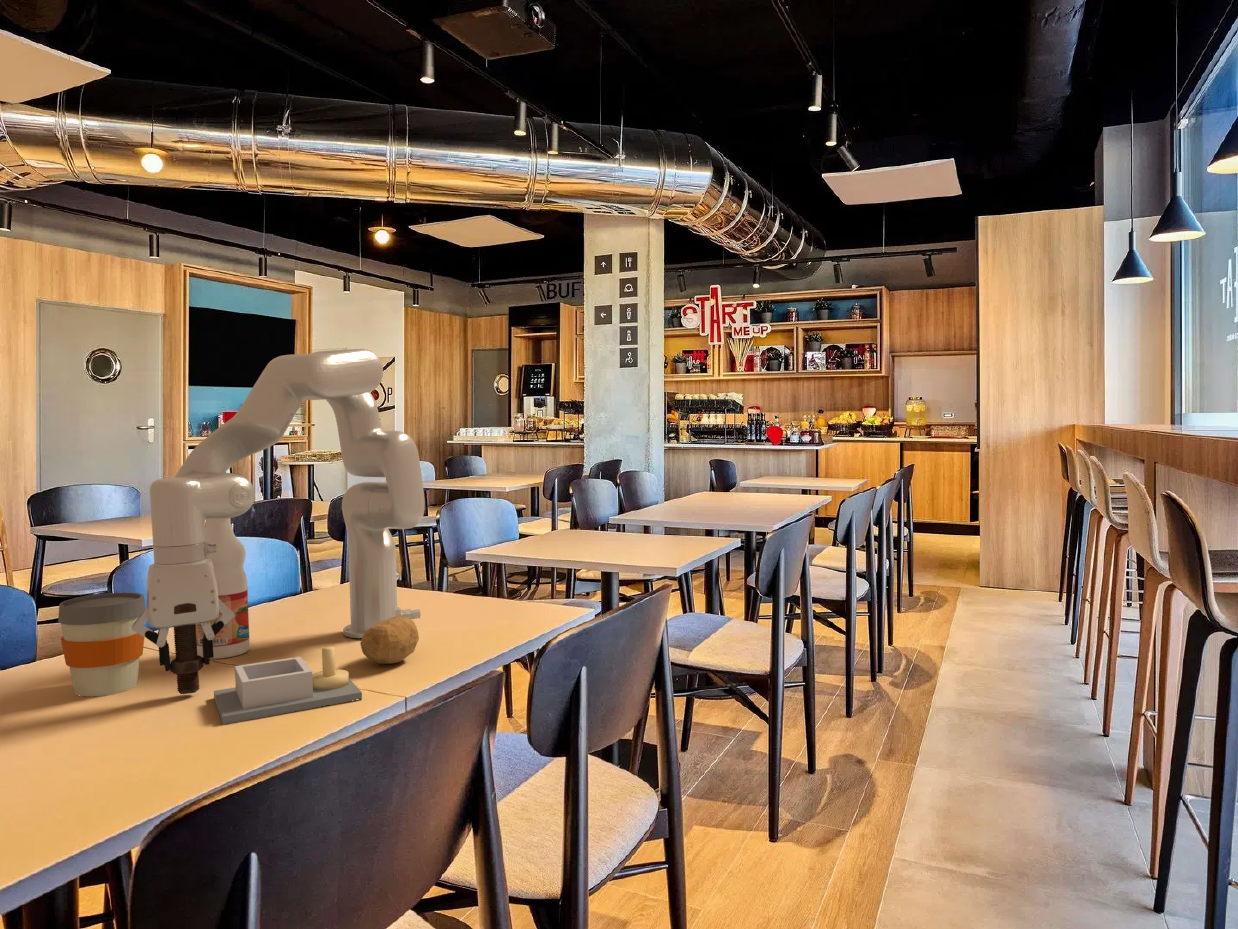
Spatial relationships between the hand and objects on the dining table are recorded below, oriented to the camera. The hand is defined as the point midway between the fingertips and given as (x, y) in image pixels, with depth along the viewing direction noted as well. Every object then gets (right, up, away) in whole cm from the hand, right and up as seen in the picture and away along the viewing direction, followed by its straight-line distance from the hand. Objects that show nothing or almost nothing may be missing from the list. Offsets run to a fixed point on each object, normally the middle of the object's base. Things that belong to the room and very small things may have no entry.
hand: (187, 664), depth 134 cm
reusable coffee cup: (-16, -5, +5) cm, 18 cm away
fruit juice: (-7, -4, +26) cm, 27 cm away
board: (+17, -5, -2) cm, 18 cm away
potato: (+28, -4, +19) cm, 34 cm away
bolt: (0, -5, 0) cm, 5 cm away
